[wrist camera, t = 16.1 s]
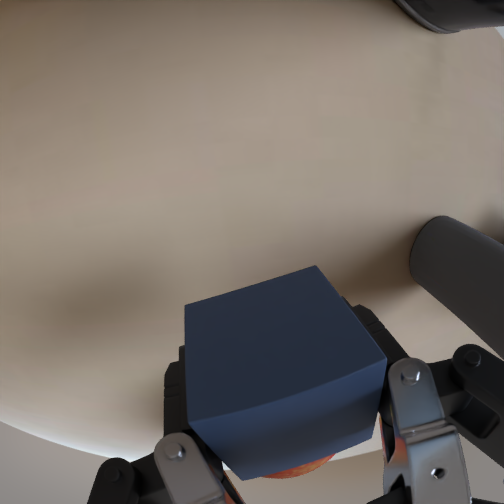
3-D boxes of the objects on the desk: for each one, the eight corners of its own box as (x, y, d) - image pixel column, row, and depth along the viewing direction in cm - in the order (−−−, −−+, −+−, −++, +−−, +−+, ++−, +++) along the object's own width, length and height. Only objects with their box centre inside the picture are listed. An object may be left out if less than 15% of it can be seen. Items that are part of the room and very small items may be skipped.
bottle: (424, 208, 18) (602, 320, 4) (465, 221, 19) (604, 312, 6) (398, 282, 20) (537, 422, 6) (442, 284, 21) (559, 391, 8)
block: (184, 304, 9) (187, 423, 5) (316, 264, 10) (387, 358, 6) (224, 386, 12) (241, 481, 7) (326, 353, 12) (372, 438, 8)
